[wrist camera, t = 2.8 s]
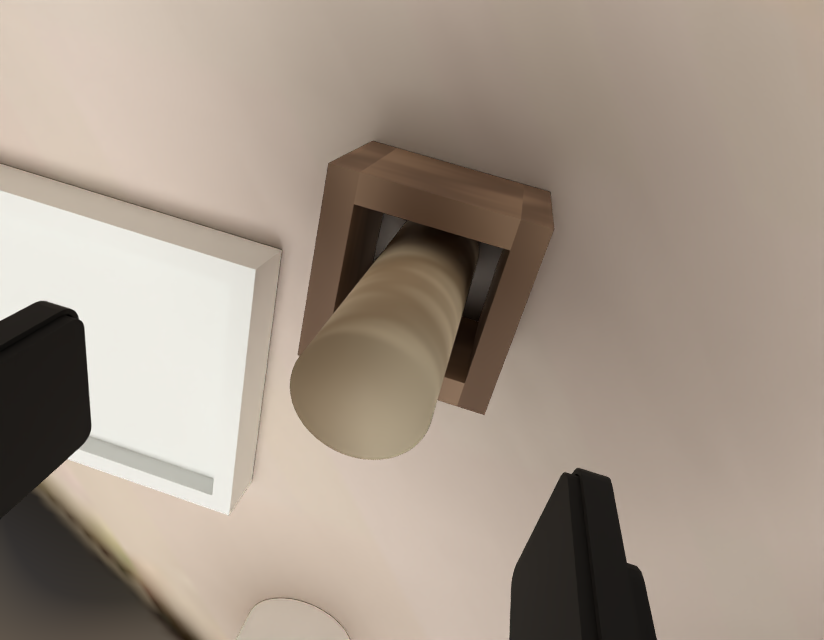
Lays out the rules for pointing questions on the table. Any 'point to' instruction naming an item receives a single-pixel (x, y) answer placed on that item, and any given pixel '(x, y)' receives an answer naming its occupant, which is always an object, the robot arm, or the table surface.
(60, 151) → the table surface
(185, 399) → the tray
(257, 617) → the cylindrical container
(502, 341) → the square wooden box
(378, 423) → the dowel
